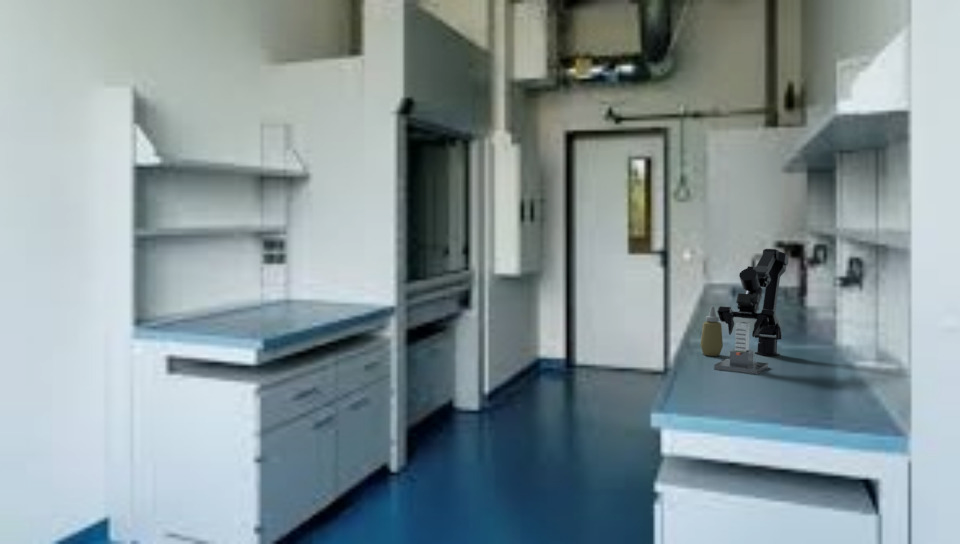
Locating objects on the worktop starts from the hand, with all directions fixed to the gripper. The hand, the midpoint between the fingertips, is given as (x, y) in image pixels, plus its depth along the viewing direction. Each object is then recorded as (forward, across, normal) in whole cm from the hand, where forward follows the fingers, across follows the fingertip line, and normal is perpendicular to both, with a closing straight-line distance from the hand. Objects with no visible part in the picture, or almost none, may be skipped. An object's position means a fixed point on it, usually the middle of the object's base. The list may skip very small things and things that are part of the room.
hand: (741, 335), depth 253 cm
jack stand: (+7, 0, +9) cm, 12 cm away
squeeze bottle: (-6, -17, +23) cm, 29 cm away
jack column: (+3, 0, +5) cm, 6 cm away
